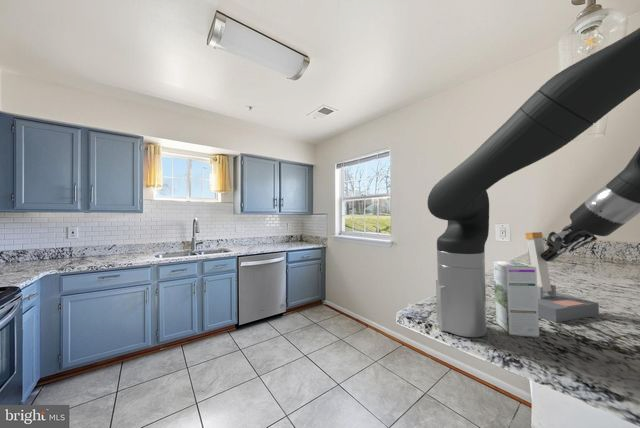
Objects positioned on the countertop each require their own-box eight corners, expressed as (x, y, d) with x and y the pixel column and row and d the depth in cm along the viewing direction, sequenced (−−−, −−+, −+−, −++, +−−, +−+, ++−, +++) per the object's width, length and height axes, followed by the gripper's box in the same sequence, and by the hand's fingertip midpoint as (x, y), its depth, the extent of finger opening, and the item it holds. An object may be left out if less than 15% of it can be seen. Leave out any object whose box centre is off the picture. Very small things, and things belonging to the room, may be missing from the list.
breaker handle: (535, 292, 64) (525, 233, 66) (544, 291, 65) (534, 232, 67) (542, 293, 62) (532, 232, 65) (552, 292, 63) (541, 232, 65)
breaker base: (498, 301, 69) (497, 280, 69) (535, 296, 72) (535, 276, 72) (555, 322, 55) (555, 296, 55) (598, 315, 58) (598, 290, 58)
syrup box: (540, 337, 49) (538, 266, 49) (508, 335, 50) (506, 265, 50) (523, 324, 54) (521, 261, 54) (493, 323, 55) (492, 260, 55)
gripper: (602, 222, 48) (537, 271, 60) (646, 222, 51) (576, 269, 62) (568, 199, 53) (515, 248, 65) (609, 199, 56) (552, 246, 68)
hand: (545, 258), depth 64 cm, fingers closed
